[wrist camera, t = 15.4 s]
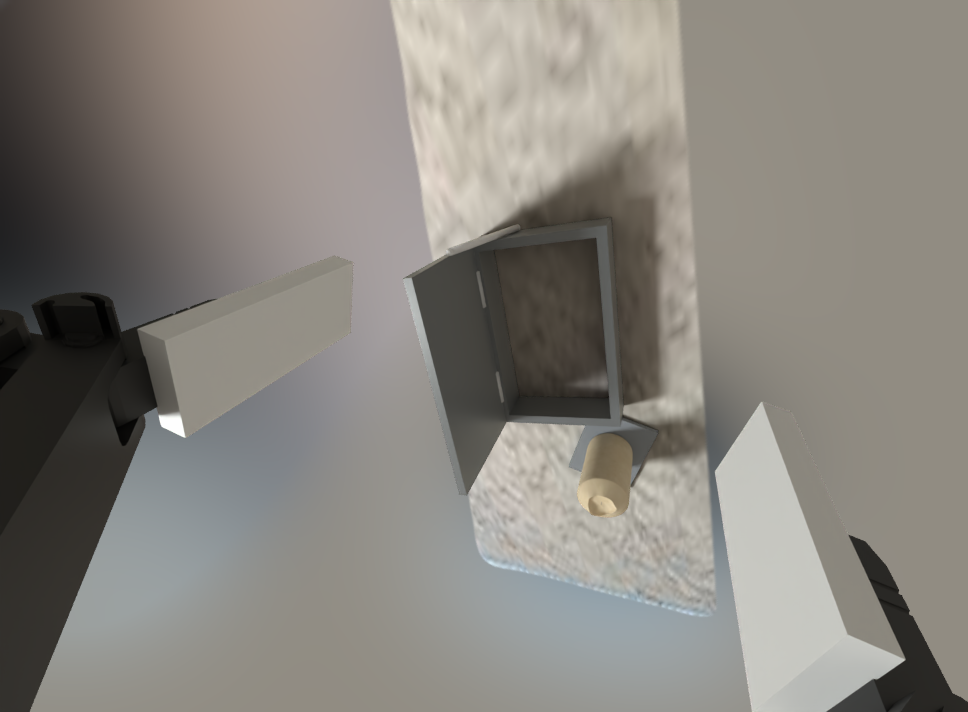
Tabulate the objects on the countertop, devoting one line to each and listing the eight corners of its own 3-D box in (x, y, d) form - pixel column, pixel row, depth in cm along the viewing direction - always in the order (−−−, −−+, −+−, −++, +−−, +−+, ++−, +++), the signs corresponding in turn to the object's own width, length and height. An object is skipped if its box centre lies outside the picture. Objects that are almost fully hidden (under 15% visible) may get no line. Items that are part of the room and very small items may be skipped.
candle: (609, 474, 56) (600, 534, 48) (578, 446, 56) (564, 501, 48) (642, 454, 53) (639, 514, 45) (610, 424, 53) (601, 479, 45)
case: (477, 228, 49) (398, 269, 34) (610, 209, 43) (584, 248, 28) (509, 402, 58) (457, 494, 43) (623, 405, 52) (608, 512, 37)
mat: (593, 406, 53) (592, 408, 53) (658, 430, 52) (658, 433, 51) (569, 463, 58) (568, 466, 58) (627, 487, 57) (627, 490, 56)
